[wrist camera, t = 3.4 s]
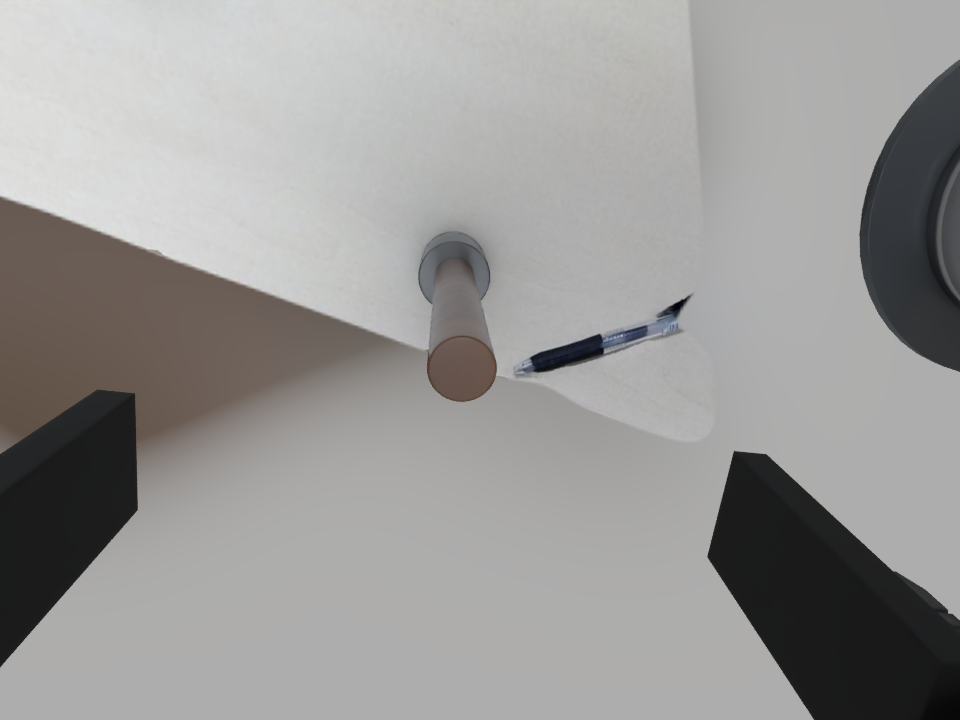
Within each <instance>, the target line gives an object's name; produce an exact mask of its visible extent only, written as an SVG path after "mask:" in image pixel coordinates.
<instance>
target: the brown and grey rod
mask: <svg viewBox="0 0 960 720" xmlns="http://www.w3.org/2000/svg"><path fill="white" fill-rule="evenodd" d="M418 278H419V285H420V288H421V291H422V293H423V295H424V296H425V298H426V299H427V300H428V301H429V302H430V303H431V304H432V315H431V327H430V339H429V351H428V363H427V373H428V378H429V380H430V383H431V385H432V386H433V387H434V389H435V390H436V391H437V392H438V393H439V394H441V395H442V396H443V397H445V398H447V399H450V400H453V401H460V402H464V401H470V400H474V399H476V398H478V397H480V396H482V395H483V394H484V393H486V391H488V390H489V389H490V387H491V386H492V384H493V382H494V380H495V377H496V372H497V364H496V359H495V355H494V351H493V347H492V344H491V340H490V336H489V332H488V328H487V324H486V320H485V316H484V312H483V308H482V304H481V300H482V299H483V297H484V296H485V294H486V292H487V290H488V287H489V283H490V271H489V266H488V264H487V261H486V259H485V256H484V254H483V251H482V249H481V247H480V246H479V244H478V243H477V242H476V241H475V240H474V239H473V238H471V237H470V236H468V235H466V234H463V233H460V232H446V233H443V234H440V235H438V236H436V237H435V238H433V239H432V240H431V241H430V242H429V243H428V245H427V246H426V248H425V250H424V252H423V255H422V259H421V264H420V268H419V277H418Z"/></svg>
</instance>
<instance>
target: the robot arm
mask: <svg viewBox="0 0 960 720" xmlns="http://www.w3.org/2000/svg"><path fill="white" fill-rule="evenodd" d="M926 234H927V250H928V256H929V260H930V264H931V267H932V270H933V273H934V275H935V277H936V279H937V281H938V283H939V285H940V286H941V288H942V289H943V291H944V292H945V293H946V295H947V296H948V297H949V298H950V299H951V300H952V301H953V302H954V303H955V304H956V305H957V306H959V307H960V146H959V147H958V149H957V150H956V151H955V153H954V154H953V156H952V157H951V159H950V160H949V162H948V163H947V165H946V167H945V169H944V171H943V172H942V174H941V177H940V179H939V181H938V183H937V185H936V188H935V191H934V194H933V197H932V200H931V204H930V208H929V213H928V219H927V231H926ZM136 459H137V458H136V416H135V394H134V393H125V392H114V391H103V390H96V391H95V392H93V393H92V394H90V395H89V396H87V397H86V398H84V399H83V400H81V401H80V402H78V403H77V404H75V405H74V406H72V407H71V408H69V409H68V410H66V411H65V412H63V413H62V414H60V415H59V416H57V417H56V418H54V419H53V420H51V421H50V422H48V423H47V424H45V425H44V426H42V427H41V428H39V429H38V430H36V431H34V432H33V433H32V434H30V435H28V436H27V437H25V438H24V439H22V440H21V441H20V442H18V443H17V444H15V445H13V446H12V447H10V448H9V449H7V450H6V451H5V452H3V453H1V454H0V667H1V666H2V665H3V663H4V662H5V661H6V660H7V659H8V658H9V656H10V655H11V654H12V653H13V652H14V651H15V650H16V649H17V647H18V646H19V645H20V644H21V643H22V642H23V641H24V639H25V638H26V637H27V636H28V635H29V634H30V632H31V631H32V630H33V629H34V628H35V626H36V625H38V623H39V622H40V621H41V620H42V619H43V618H44V616H45V615H46V614H47V613H48V612H49V611H50V610H51V608H52V607H53V606H54V605H55V604H56V603H57V601H58V600H59V599H60V598H61V597H62V596H63V595H64V594H65V592H66V591H67V590H68V589H69V588H70V587H71V586H72V585H73V583H74V582H75V581H76V580H77V579H78V578H79V577H80V575H81V574H82V573H83V572H84V571H85V570H86V568H87V567H88V566H89V565H90V564H91V563H92V561H93V560H94V559H95V558H96V557H97V556H98V555H99V554H100V552H101V551H102V550H103V549H104V548H105V547H106V546H107V544H108V543H109V542H110V541H111V539H113V538H114V536H115V535H116V534H117V533H118V532H119V531H120V530H121V528H122V527H123V526H124V525H125V524H126V523H127V522H128V520H129V519H130V518H131V517H132V516H133V515H134V514H135V512H136V511H137V510H138V500H137V460H136ZM708 559H709V560H710V562H711V563H712V565H713V566H714V568H715V569H716V571H717V572H718V574H719V575H720V577H721V579H722V580H723V582H724V583H725V585H726V586H727V588H728V589H729V591H730V592H731V594H732V595H733V597H734V598H735V600H736V601H737V603H738V604H739V606H740V607H741V609H742V610H743V612H744V613H745V615H746V617H747V618H748V620H749V621H750V622H751V624H752V626H753V627H754V629H755V630H756V632H757V633H758V635H759V636H760V638H761V639H762V641H763V643H764V644H765V645H766V647H767V648H768V650H769V652H770V653H771V655H772V656H773V658H774V659H775V661H776V662H777V664H778V665H779V667H780V668H781V670H782V671H783V673H784V674H785V676H786V678H787V679H788V681H789V682H790V684H791V685H792V686H793V688H794V690H795V691H796V693H797V694H798V696H799V697H800V699H801V700H802V702H803V703H804V705H805V706H806V708H807V709H808V711H809V713H810V714H811V716H812V717H813V719H814V720H960V620H959V619H957V618H956V617H955V616H954V615H953V614H948V610H947V609H946V608H945V607H944V606H943V605H942V604H941V603H940V602H938V601H937V600H936V599H935V598H934V597H933V596H932V595H931V594H930V593H928V592H927V591H926V590H925V589H923V588H922V587H920V586H918V585H916V584H915V583H913V582H912V581H910V580H908V579H907V578H905V577H904V576H902V575H900V574H899V573H897V572H893V571H892V570H891V569H890V568H889V567H887V565H886V564H885V563H883V562H882V561H881V560H880V559H879V558H878V557H877V556H876V555H875V554H874V553H872V551H870V550H869V549H868V548H867V547H866V546H865V545H864V544H863V543H861V541H860V540H858V539H857V538H856V537H855V536H854V535H853V534H852V533H851V532H850V531H849V530H848V529H847V528H845V527H844V526H843V525H842V524H841V523H840V522H839V521H838V520H837V519H836V518H835V517H833V515H831V514H830V513H829V512H828V511H827V510H826V509H825V508H824V507H823V506H822V505H820V504H819V503H818V502H817V501H816V500H815V499H814V498H813V497H812V496H811V495H810V494H809V493H808V492H806V491H805V490H804V489H803V488H802V487H801V486H800V485H799V484H798V483H797V482H796V481H795V480H793V479H792V478H791V477H790V476H789V475H788V474H787V473H786V472H785V471H784V470H783V469H782V468H780V467H779V466H778V465H777V464H776V463H775V462H774V461H773V460H772V459H771V458H770V457H769V456H768V455H766V454H757V453H747V452H737V451H734V453H733V457H732V461H731V465H730V469H729V473H728V477H727V481H726V485H725V489H724V493H723V497H722V501H721V505H720V509H719V513H718V517H717V520H716V525H715V529H714V532H713V536H712V540H711V545H710V548H709V552H708Z"/></svg>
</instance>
